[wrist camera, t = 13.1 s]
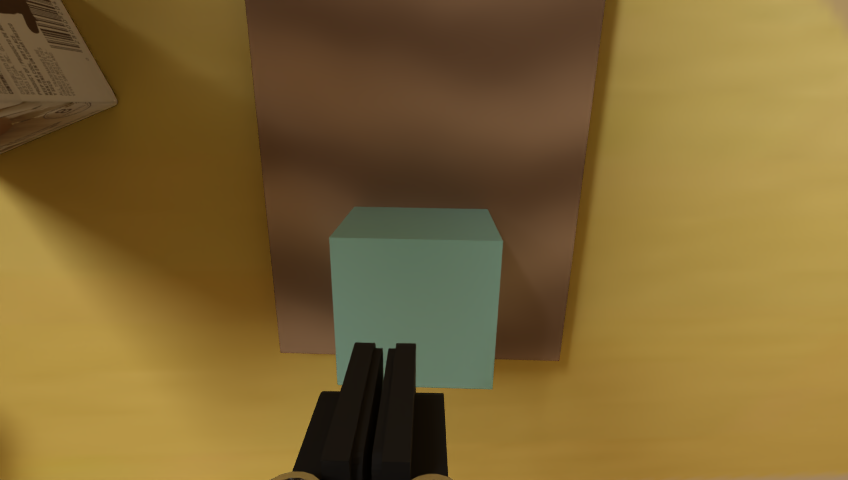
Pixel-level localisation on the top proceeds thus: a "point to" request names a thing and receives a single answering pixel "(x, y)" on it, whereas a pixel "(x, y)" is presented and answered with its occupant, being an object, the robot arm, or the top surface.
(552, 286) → the wooden board
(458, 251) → the mint green cube
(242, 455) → the top surface
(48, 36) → the coffee box
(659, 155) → the top surface
